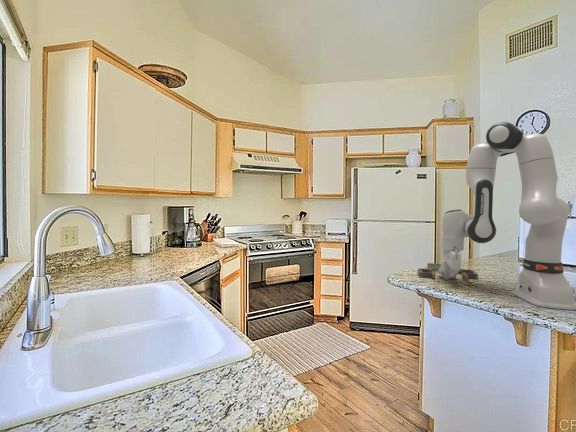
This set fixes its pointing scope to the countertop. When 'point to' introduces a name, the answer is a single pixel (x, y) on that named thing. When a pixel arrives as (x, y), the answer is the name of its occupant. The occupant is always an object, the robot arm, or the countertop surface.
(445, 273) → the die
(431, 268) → the trap lane
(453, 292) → the countertop surface
